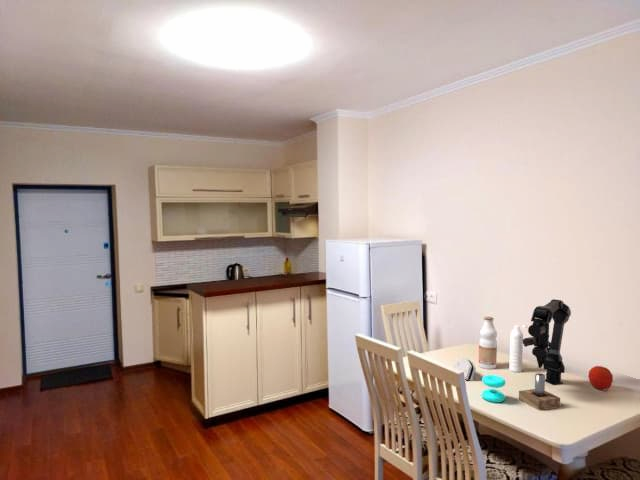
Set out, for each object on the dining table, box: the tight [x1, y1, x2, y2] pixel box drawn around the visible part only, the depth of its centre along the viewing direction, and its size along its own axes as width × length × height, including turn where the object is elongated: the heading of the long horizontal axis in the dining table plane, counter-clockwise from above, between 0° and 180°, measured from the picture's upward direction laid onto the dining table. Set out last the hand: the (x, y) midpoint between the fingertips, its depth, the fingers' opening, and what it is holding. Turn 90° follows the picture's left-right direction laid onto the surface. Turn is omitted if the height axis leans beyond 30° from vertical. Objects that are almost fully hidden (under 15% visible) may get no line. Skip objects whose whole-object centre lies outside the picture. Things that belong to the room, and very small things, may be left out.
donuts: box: [481, 374, 506, 403], centre depth 212 cm, size 10×10×10 cm
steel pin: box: [534, 372, 546, 397], centre depth 207 cm, size 4×4×13 cm
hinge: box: [452, 356, 477, 382], centre depth 243 cm, size 17×5×10 cm, turn 3°
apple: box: [588, 365, 614, 391], centre depth 226 cm, size 10×10×12 cm
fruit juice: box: [478, 316, 498, 370], centre depth 256 cm, size 9×9×28 cm
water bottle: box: [508, 324, 528, 373], centre depth 251 cm, size 9×6×25 cm
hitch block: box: [518, 388, 561, 411], centre depth 208 cm, size 12×12×4 cm
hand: (541, 365), depth 221 cm, fingers open, 9 cm apart
